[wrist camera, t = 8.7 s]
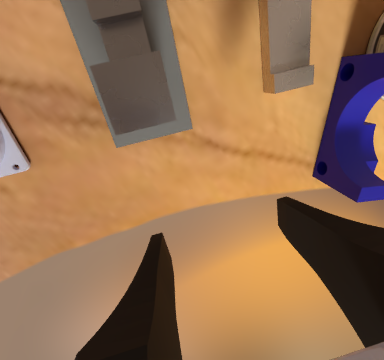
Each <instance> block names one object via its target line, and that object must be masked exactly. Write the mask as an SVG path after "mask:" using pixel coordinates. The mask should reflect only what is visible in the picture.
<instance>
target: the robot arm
mask: <svg viewBox="0 0 384 360" xmlns="http://www.w3.org/2000/svg"><path fill="white" fill-rule="evenodd" d="M15 164H16V165H18V166H19V168H16V167H15ZM29 168H30V162H29V161H28V159H27V157H26V156H25V154H24V152H23V151H22V149H21V147H20V146H19V144H18V142H17V140H16V139H15V137H14V135H13V134H12V132H11V130H10V129H9V127H8V125H7V124H6V122H5V120H4V118H3V117H2V115H1V113H0V177H3V176H7V175H11V174H15V173H19V172H23V171H26V170H28V169H29ZM277 210H278V226H279V227H280V229H281V230H282V232H283V234H284V235H285V236H286V238H287V240H288V241H289V242H290V243H291V244H292V245H293V247H294V248H295V249H296V250H297V251H298V252H299V254H300V255H301V256H302V257H303V258H304V259H305V260H306V261H307V263H308V264H309V265H310V266H311V267H312V268H313V270H314V271H315V272H316V273H317V275H318V276H319V277H320V278H321V280H322V282H323V283H324V284H325V286H326V287H327V289H328V290H329V291H330V293H331V294H332V296H333V297H334V299H335V300H336V301H337V303H338V305H339V306H340V308H341V309H342V311H343V312H344V314H345V316H346V317H347V319H348V320H349V322H350V323H351V325H352V327H353V328H354V330H355V331H356V333H357V335H358V336H359V338H360V339H361V341H362V343H363V345H364V346H365V348H364V349H361V350H358V351H355V352H352V353H349V354H346V355H343V356H340V357H337V358H334V359H331V360H384V228H381V227H376V226H372V225H367V224H363V223H359V222H356V221H352V220H348V219H345V218H342V217H339V216H336V215H333V214H330V213H327V212H324V211H322V210H319V209H317V208H314V207H311V206H309V205H306V204H304V203H301V202H299V201H297V200H294V199H291V198H289V197H283V198H280V199H277ZM75 360H182V355H181V348H180V341H179V334H178V328H177V320H176V310H175V287H174V272H173V266H172V260H171V256H170V253H169V250H168V247H167V245H166V242H165V239H164V236H163V234H162V233H159V234H155V235H152V237H151V238H150V242H149V244H148V247H147V250H146V253H145V255H144V257H143V260H142V262H141V265H140V267H139V269H138V271H137V273H136V275H135V277H134V279H133V281H132V283H131V284H130V286H129V288H128V290H127V291H126V293H125V295H124V296H123V298H122V299H121V301H120V302H119V304H118V305H117V307H116V308H115V310H114V311H113V312H112V314H111V315H110V316H109V318H108V319H107V320H106V322H105V323H104V324H103V325H102V326H101V328H100V329H99V330H98V331H97V332H96V334H95V335H94V336H93V337H92V338H91V339H90V340H89V341H88V342H87V344H86V345H85V346H84V347H83V348H82V349H81V350H80V351H79V352H78V353H77V355H76V358H75Z"/></svg>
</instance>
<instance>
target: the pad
mask: <svg viewBox="0 0 384 360" xmlns="http://www.w3.org/2000/svg"><path fill="white" fill-rule="evenodd" d="M60 1H61V4H62V7H63V9H64V12H65V14H66V17H67V20H68V22H69V25H70V27H71V30H72V33H73V35H74V38H75V41H76V43H77V46H78V48H79V51H80V54H81V56H82V59H83V61H84V64H85V67H86V69H87V72H88V75H89V77H90V80H91V82H92V85H93V88H94V90H95V93H96V95H97V98H98V101H99V103H100V106H101V109H102V111H103V114H104V116H105V119H106V122H107V124H108V127H109V129H110V132H111V135H112V137H113V140H114V143H115V145H116V148H118V147H122V146H126V145H130V144H134V143H138V142H142V141H146V140H150V139H154V138H158V137H162V136H166V135H170V134H174V133H177V132H181V131H185V130H189V129H193V128H192V123H191V119H190V114H189V109H188V104H187V99H186V95H185V90H184V85H183V80H182V75H181V70H180V66H179V61H178V56H177V51H176V46H175V41H174V37H173V32H172V27H171V22H170V17H169V13H168V8H167V3H166V0H139V2H140V6H141V10H142V18H143V22H144V26H145V30H146V33H147V37H148V41H149V45H150V49H151V52H154V51H158V50H160V53H161V57H162V61H163V66H164V70H165V74H166V78H167V83H168V87H169V91H170V95H171V99H172V104H173V108H174V112H175V116H176V121H172V122H168V123H164V124H160V125H156V126H152V127H148V128H144V129H140V130H136V131H132V132H128V133H124V134H120V135H115V133H114V130H113V127H112V125H111V122H110V119H109V117H108V114H107V111H106V109H105V106H104V103H103V101H102V98H101V95H100V93H99V90H98V87H97V85H96V82H95V79H94V77H93V74H92V71H91V69H90V66H92V65H96V64H101V63H105V62H110V61H109V58H108V55H107V52H106V49H105V46H104V43H103V40H102V37H101V34H100V31H99V28H98V26H97V25H96V24H95V23H94V22H93V21H92V18H91V15H90V13H89V10H88V7H87V4H86V1H85V0H60Z"/></svg>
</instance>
